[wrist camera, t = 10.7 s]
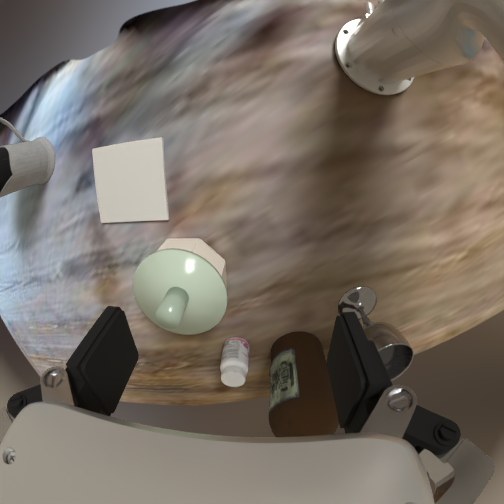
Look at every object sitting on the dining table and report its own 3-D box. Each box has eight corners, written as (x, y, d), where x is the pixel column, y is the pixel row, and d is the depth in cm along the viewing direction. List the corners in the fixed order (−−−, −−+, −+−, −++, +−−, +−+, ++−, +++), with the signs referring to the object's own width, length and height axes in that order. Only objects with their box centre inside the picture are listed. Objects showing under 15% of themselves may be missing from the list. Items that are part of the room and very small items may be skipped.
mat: (94, 148, 34) (92, 149, 34) (163, 137, 34) (162, 137, 33) (102, 221, 39) (101, 222, 38) (169, 218, 39) (168, 219, 38)
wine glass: (340, 328, 46) (362, 392, 32) (331, 294, 43) (355, 359, 29) (380, 312, 44) (412, 371, 30) (375, 277, 41) (414, 335, 28)
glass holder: (32, 190, 37) (-25, 215, 23) (18, 124, 31) (-40, 133, 18) (60, 174, 36) (-4, 196, 22) (45, 102, 30) (-18, 104, 16)
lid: (126, 248, 34) (106, 267, 29) (224, 248, 34) (217, 269, 28) (145, 327, 39) (133, 352, 34) (230, 333, 39) (226, 360, 34)
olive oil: (335, 341, 47) (367, 460, 24) (301, 374, 51) (313, 485, 28) (290, 319, 45) (305, 454, 22) (257, 356, 49) (253, 478, 26)
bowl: (147, 237, 40) (131, 253, 34) (224, 236, 39) (218, 253, 34) (159, 303, 45) (148, 325, 39) (228, 306, 44) (224, 329, 39)
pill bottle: (252, 352, 48) (251, 386, 41) (228, 356, 49) (223, 389, 41) (245, 334, 47) (243, 369, 39) (220, 338, 47) (214, 372, 40)
